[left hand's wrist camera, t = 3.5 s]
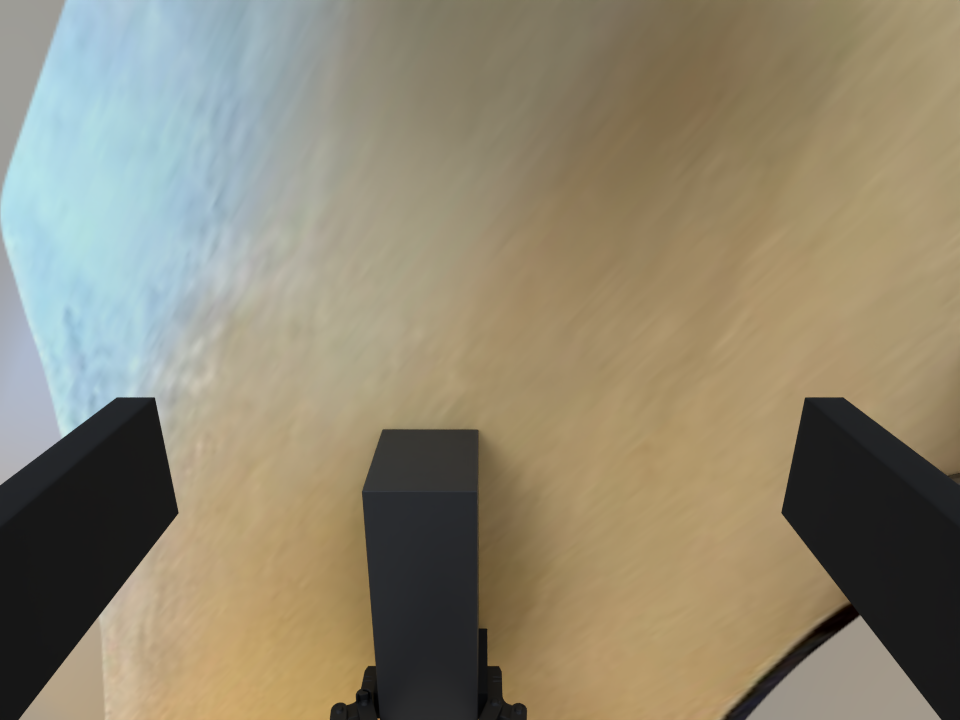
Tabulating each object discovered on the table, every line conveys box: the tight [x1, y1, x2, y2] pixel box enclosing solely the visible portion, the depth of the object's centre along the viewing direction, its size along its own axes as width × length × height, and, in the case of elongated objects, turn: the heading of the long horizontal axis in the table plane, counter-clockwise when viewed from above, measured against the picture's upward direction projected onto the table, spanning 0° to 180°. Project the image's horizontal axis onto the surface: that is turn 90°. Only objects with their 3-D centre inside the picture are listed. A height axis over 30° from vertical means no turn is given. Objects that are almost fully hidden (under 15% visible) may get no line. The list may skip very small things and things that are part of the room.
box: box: [362, 429, 479, 720], centre depth 48 cm, size 25×7×9 cm, turn 0°
